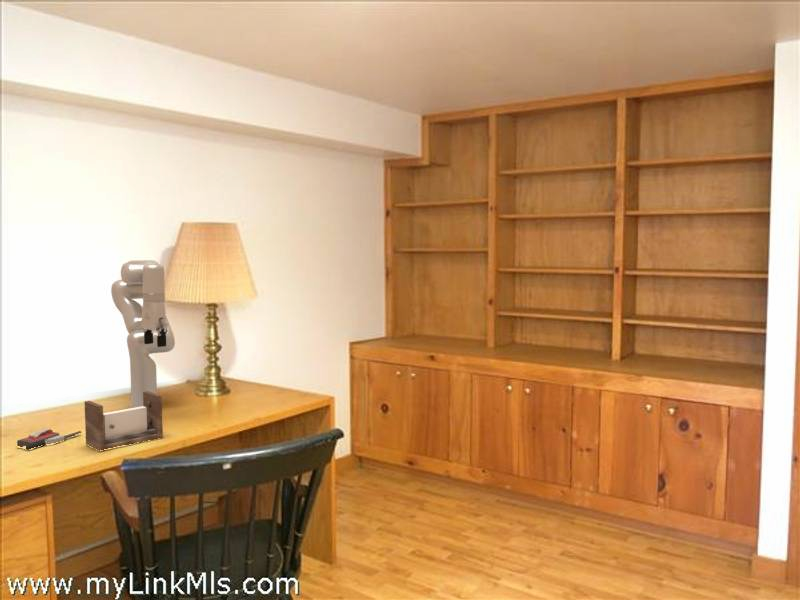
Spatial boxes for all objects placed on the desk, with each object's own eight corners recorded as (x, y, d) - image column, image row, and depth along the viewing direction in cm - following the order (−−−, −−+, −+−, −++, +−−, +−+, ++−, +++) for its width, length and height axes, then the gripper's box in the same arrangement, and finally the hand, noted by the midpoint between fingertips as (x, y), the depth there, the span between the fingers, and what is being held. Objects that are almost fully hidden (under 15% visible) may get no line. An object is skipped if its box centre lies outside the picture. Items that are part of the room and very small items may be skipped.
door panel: (143, 432, 226) (142, 406, 225) (148, 434, 223) (148, 407, 223) (102, 441, 216) (101, 413, 215) (107, 443, 213) (106, 415, 212)
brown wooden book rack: (148, 432, 231) (147, 391, 230) (162, 438, 224) (161, 395, 223) (86, 445, 216) (84, 401, 214) (99, 452, 209) (97, 406, 208)
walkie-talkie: (32, 453, 209) (83, 436, 227) (32, 439, 208) (83, 423, 227) (12, 450, 212) (64, 433, 231) (11, 436, 212) (63, 421, 230)
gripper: (132, 297, 245) (134, 343, 247) (155, 300, 234) (157, 348, 235) (152, 296, 251) (153, 341, 252) (175, 299, 239) (176, 346, 241)
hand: (155, 345), depth 244 cm, fingers open, 9 cm apart
